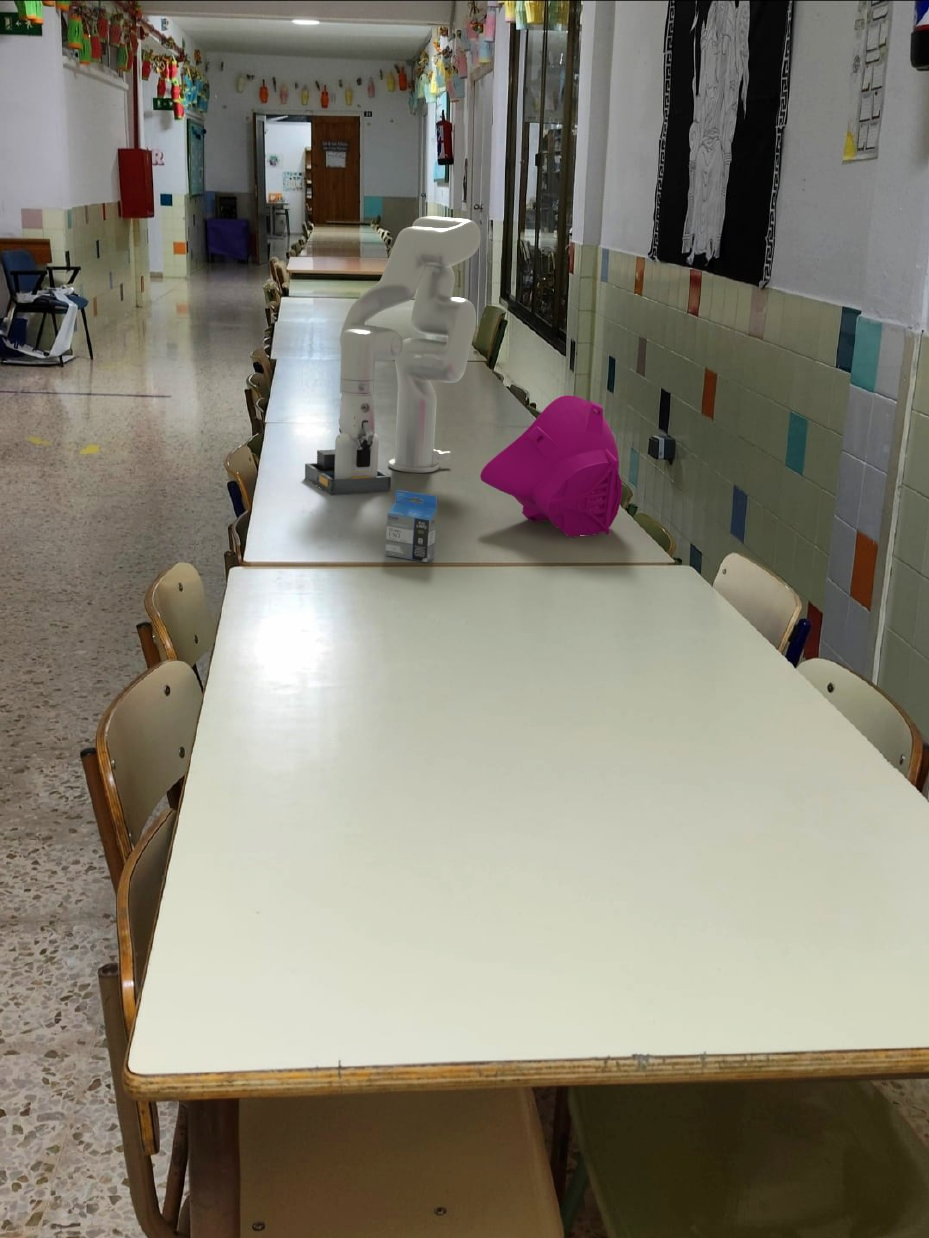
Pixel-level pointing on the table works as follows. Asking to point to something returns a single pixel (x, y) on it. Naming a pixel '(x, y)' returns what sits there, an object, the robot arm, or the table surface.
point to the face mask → (563, 468)
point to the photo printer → (353, 458)
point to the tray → (325, 474)
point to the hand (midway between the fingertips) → (354, 462)
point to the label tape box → (411, 527)
